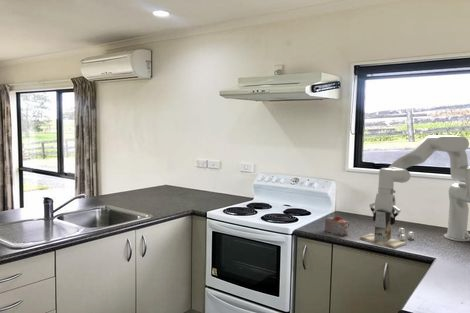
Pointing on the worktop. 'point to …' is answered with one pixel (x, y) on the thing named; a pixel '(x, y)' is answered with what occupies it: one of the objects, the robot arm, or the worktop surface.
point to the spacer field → (403, 237)
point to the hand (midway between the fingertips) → (383, 222)
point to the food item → (336, 226)
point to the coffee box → (382, 226)
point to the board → (389, 243)
